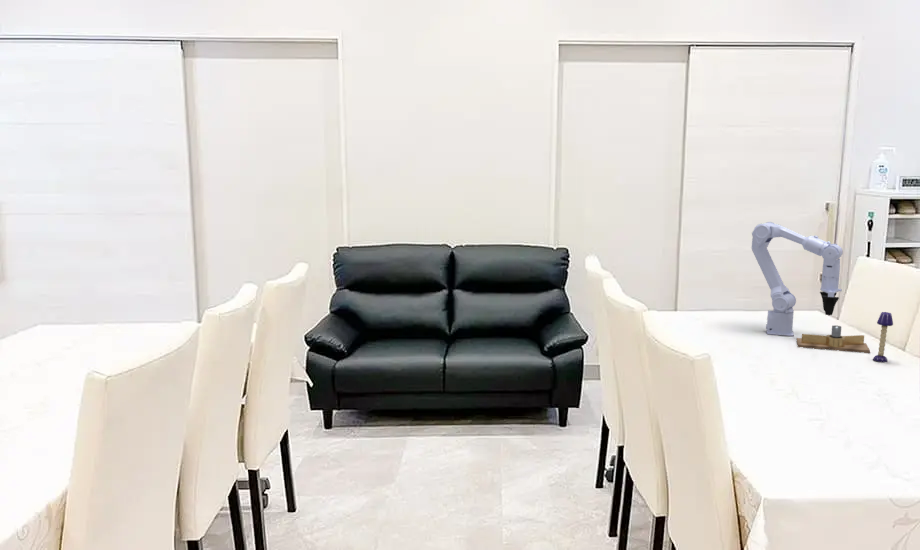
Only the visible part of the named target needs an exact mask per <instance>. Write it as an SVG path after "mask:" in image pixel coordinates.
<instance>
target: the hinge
mask: <svg viewBox="0 0 920 550" xmlns="http://www.w3.org/2000/svg"><path fill="white" fill-rule="evenodd" d="M801 338H802V340H801V343H809V344H821V345H827V346H830V347H838V348H839V347H845V345H860V344H864V343H865V335H864V334H863V335H860V334H859V335H858V334H857V335H841V338H832V337H831V334H827V335H826V334H825V335H824V334H823V335H819V334H810V333H802V334H801Z"/></svg>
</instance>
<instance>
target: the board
mask: <svg viewBox="0 0 920 550" xmlns="http://www.w3.org/2000/svg"><path fill="white" fill-rule="evenodd" d="M796 340H797V341H796V344H797V345H798V346H797V345H796V346H797V348H800V347H803V348H802V349H813V348H814V350H815V349H816V350H817V349H818V350H825V349H826V350H827V351H837V350H839V351H838V352H850V353H851V352H852V353H861V352H864V354H870V353H871V350H870V348H869V346H868V345H867V343H865V342H864V344H860V345H845V347H839V348H838V347H830V346H827V345H821V344H809V343H801V340H802V337H796Z"/></svg>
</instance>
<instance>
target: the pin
mask: <svg viewBox="0 0 920 550" xmlns="http://www.w3.org/2000/svg"><path fill="white" fill-rule="evenodd" d="M830 335H831V337H832V338H841V336H842V326H841V325H832V326H831V334H830Z"/></svg>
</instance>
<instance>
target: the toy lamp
mask: <svg viewBox="0 0 920 550" xmlns="http://www.w3.org/2000/svg"><path fill="white" fill-rule="evenodd" d="M877 319H878V320H877V321H876V323H877V325H880V326H881V329H880V338H879V343H878V344H879V345H878V346H879V347H878V352H877V354H876V355H874V357H873V359H872V360H873V361H874V362H877V361H878V362H879V363H887V362H888V358H887V357H886V356H885V351H886V350H885V349H886V347H885V346H886V342H887V341H886V340H887V339H886V338H887V333H888V327H892V326H894V321H893V315H892V313H891V312H886V311H882V312H880V315H879V317H878V318H877Z"/></svg>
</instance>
